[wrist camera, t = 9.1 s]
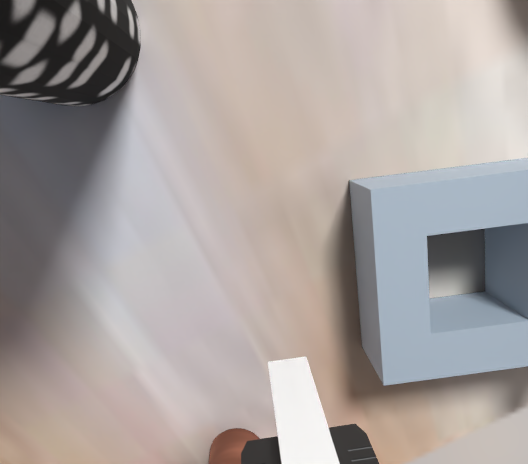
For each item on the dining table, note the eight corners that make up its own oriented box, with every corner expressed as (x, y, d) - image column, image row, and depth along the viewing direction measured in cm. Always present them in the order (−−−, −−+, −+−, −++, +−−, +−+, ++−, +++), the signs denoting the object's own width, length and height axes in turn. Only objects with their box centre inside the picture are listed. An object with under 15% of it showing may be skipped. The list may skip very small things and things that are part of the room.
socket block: (361, 346, 32) (383, 385, 27) (349, 180, 29) (370, 189, 24) (526, 325, 32) (577, 359, 27) (528, 157, 29) (585, 162, 24)
